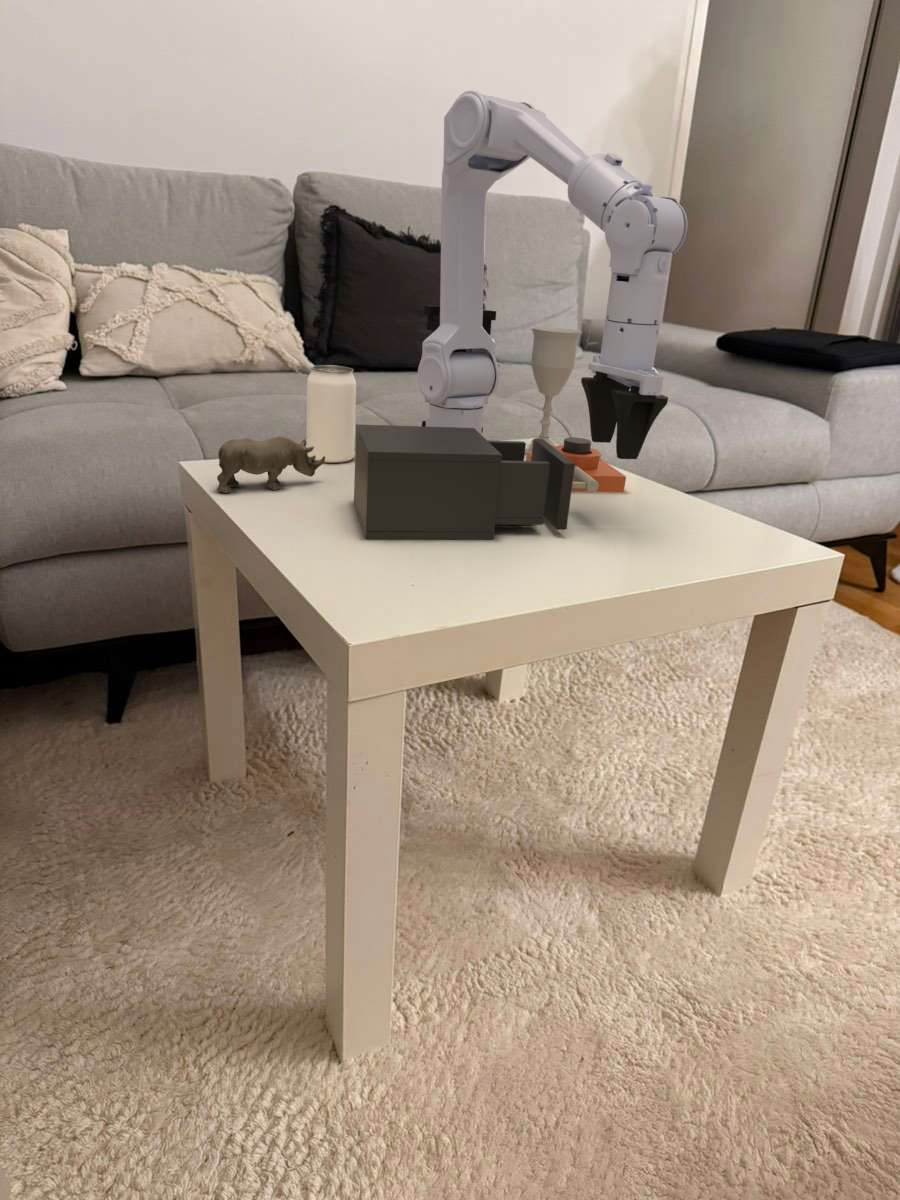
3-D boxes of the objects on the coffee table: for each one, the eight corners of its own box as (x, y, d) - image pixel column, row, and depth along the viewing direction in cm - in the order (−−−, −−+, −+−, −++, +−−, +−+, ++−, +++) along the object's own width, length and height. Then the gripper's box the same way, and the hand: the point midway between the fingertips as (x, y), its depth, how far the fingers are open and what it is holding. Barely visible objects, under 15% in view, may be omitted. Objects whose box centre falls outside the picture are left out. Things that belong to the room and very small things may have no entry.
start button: (559, 449, 115) (560, 436, 114) (584, 450, 116) (585, 437, 115) (567, 456, 112) (569, 443, 111) (593, 456, 113) (595, 443, 112)
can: (345, 466, 113) (348, 374, 108) (299, 460, 114) (299, 369, 110) (360, 455, 119) (362, 367, 114) (316, 450, 120) (316, 363, 115)
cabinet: (468, 504, 101) (474, 427, 98) (493, 539, 90) (502, 454, 86) (353, 502, 98) (356, 424, 95) (365, 539, 87) (368, 451, 84)
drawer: (568, 499, 103) (576, 439, 100) (602, 530, 93) (612, 464, 90) (434, 497, 99) (438, 435, 97) (453, 529, 89) (458, 461, 86)
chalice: (512, 455, 126) (525, 328, 119) (524, 446, 132) (537, 325, 125) (560, 462, 124) (576, 334, 117) (570, 453, 130) (586, 330, 123)
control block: (525, 467, 120) (528, 439, 118) (591, 468, 122) (595, 441, 120) (550, 491, 109) (554, 461, 107) (623, 492, 111) (628, 462, 109)
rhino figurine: (332, 486, 104) (333, 437, 101) (220, 495, 97) (218, 443, 95) (319, 477, 107) (319, 430, 105) (210, 486, 100) (208, 435, 98)
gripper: (573, 313, 95) (558, 434, 100) (623, 327, 82) (603, 465, 87) (632, 316, 96) (614, 435, 102) (690, 331, 83) (667, 467, 89)
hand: (613, 449), depth 95 cm, fingers open, 7 cm apart
